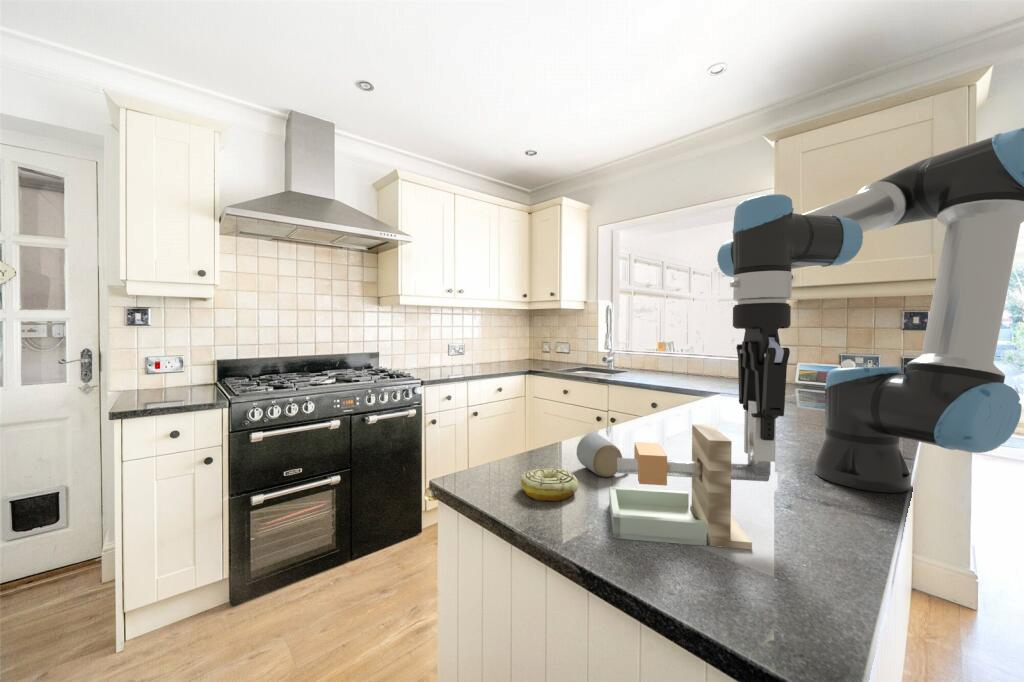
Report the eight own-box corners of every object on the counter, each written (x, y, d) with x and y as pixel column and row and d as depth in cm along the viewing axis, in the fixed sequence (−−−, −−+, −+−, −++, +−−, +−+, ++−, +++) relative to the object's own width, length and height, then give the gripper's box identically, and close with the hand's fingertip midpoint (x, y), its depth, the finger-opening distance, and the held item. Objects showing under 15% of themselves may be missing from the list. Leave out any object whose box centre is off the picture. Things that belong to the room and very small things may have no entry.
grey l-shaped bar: (765, 477, 65) (766, 399, 65) (773, 484, 62) (774, 403, 62) (616, 469, 69) (617, 396, 69) (618, 476, 66) (618, 399, 66)
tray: (687, 509, 72) (687, 491, 71) (706, 545, 60) (706, 523, 60) (609, 504, 74) (609, 486, 74) (613, 538, 62) (613, 516, 62)
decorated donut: (588, 498, 77) (588, 478, 77) (536, 508, 73) (536, 487, 73) (560, 479, 87) (560, 461, 87) (513, 487, 82) (512, 468, 82)
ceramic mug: (594, 481, 85) (594, 443, 85) (575, 468, 93) (576, 434, 93) (638, 475, 89) (639, 440, 88) (616, 464, 96) (617, 430, 96)
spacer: (659, 469, 70) (659, 443, 70) (666, 485, 63) (667, 456, 63) (634, 468, 71) (634, 442, 70) (639, 483, 64) (639, 454, 63)
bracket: (724, 512, 70) (725, 424, 70) (751, 549, 59) (753, 443, 58) (690, 509, 71) (690, 423, 71) (710, 546, 60) (711, 442, 59)
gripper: (718, 305, 72) (716, 441, 72) (754, 299, 56) (752, 473, 56) (765, 305, 70) (764, 443, 71) (817, 298, 54) (814, 476, 55)
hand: (759, 456), depth 64 cm, fingers closed on grey l-shaped bar, 3 cm apart
